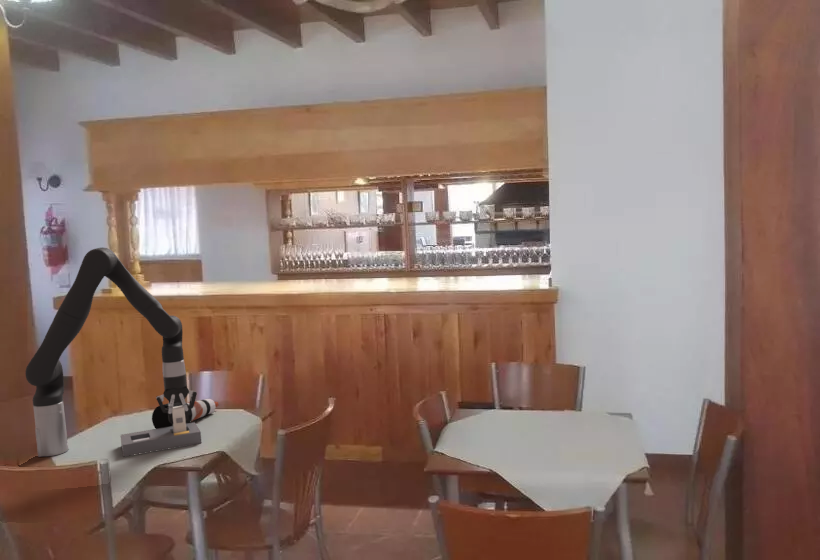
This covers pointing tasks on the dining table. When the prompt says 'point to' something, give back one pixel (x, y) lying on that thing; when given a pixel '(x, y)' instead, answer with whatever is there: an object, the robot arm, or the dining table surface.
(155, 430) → the panel
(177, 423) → the plug
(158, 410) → the black white red bottle
